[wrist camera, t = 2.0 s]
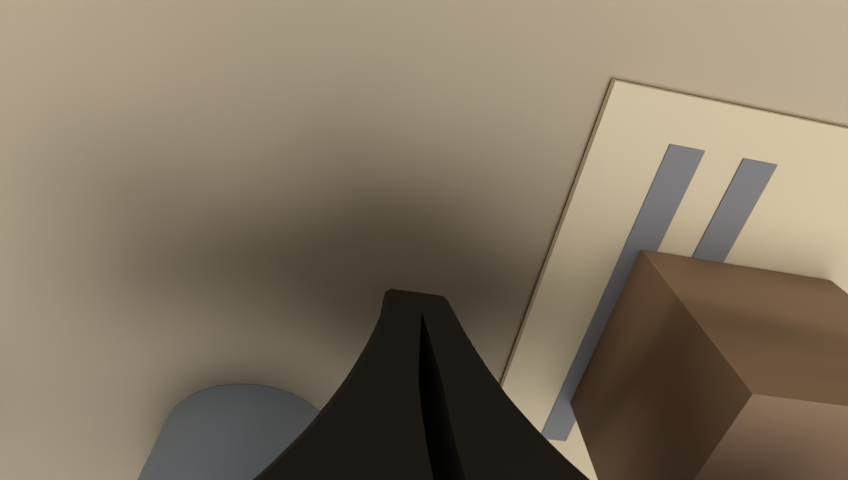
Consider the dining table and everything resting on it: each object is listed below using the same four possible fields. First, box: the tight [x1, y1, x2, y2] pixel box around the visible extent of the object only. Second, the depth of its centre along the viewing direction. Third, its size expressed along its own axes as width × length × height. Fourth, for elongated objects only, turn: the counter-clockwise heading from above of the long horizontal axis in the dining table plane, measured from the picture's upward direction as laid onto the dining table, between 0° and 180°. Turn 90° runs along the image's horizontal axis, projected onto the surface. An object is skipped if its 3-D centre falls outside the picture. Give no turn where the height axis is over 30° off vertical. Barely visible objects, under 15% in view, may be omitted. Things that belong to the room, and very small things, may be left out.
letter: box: [500, 79, 848, 480], centre depth 14 cm, size 12×9×1 cm
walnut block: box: [570, 249, 848, 480], centre depth 12 cm, size 5×5×4 cm
